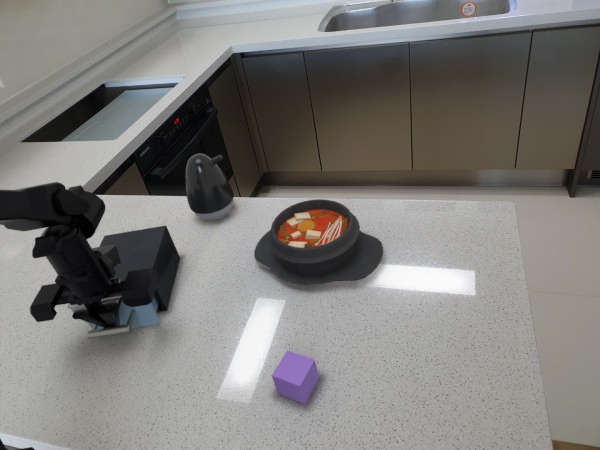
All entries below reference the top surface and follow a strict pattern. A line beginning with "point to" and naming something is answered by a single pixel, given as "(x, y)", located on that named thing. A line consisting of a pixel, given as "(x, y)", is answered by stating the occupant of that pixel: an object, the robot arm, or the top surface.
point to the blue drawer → (128, 320)
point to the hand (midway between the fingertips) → (117, 329)
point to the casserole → (318, 245)
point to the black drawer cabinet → (147, 258)
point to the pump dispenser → (207, 187)
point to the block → (296, 377)
